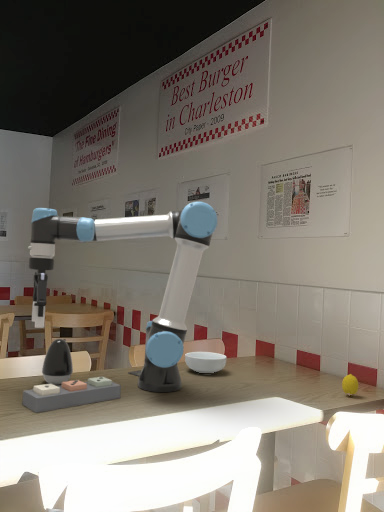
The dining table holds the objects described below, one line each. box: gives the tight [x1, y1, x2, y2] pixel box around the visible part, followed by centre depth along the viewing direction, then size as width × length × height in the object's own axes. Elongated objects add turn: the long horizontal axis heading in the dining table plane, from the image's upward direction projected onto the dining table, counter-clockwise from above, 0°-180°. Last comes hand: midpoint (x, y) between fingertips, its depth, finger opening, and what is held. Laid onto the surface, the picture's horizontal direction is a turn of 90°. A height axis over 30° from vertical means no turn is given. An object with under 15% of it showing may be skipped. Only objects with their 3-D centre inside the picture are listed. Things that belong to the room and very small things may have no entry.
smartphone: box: [127, 369, 142, 378], centre depth 190 cm, size 7×1×15 cm
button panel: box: [21, 381, 122, 414], centre depth 147 cm, size 28×9×4 cm, turn 133°
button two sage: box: [86, 376, 113, 388], centre depth 153 cm, size 6×6×3 cm
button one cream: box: [32, 383, 60, 396], centre depth 141 cm, size 6×6×3 cm
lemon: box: [341, 373, 359, 395], centre depth 172 cm, size 6×6×8 cm
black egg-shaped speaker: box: [41, 338, 74, 386], centre depth 167 cm, size 10×10×15 cm
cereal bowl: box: [184, 351, 227, 374], centre depth 197 cm, size 17×17×7 cm
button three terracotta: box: [61, 379, 87, 392], centre depth 147 cm, size 6×6×3 cm
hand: (37, 324), depth 152 cm, fingers open, 13 cm apart
